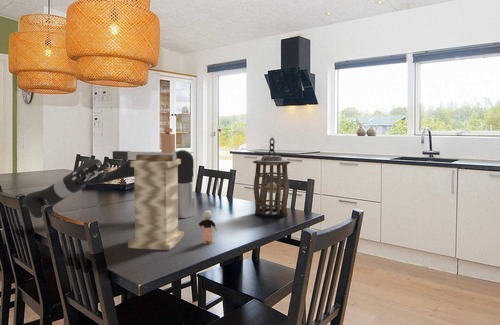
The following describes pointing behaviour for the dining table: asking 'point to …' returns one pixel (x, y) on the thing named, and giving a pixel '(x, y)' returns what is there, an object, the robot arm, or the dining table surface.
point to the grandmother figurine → (207, 228)
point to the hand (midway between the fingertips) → (103, 164)
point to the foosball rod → (166, 149)
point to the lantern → (271, 186)
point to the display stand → (156, 202)
